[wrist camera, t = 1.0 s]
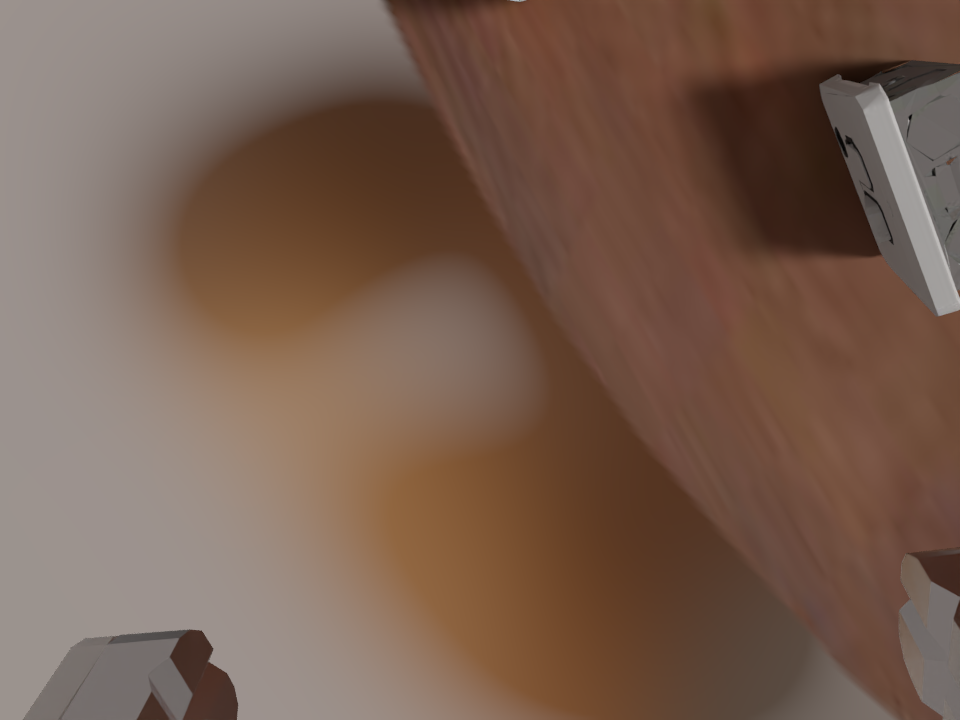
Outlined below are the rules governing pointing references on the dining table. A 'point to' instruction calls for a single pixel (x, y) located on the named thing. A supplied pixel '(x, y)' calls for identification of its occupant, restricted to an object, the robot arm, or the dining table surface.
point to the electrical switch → (907, 169)
